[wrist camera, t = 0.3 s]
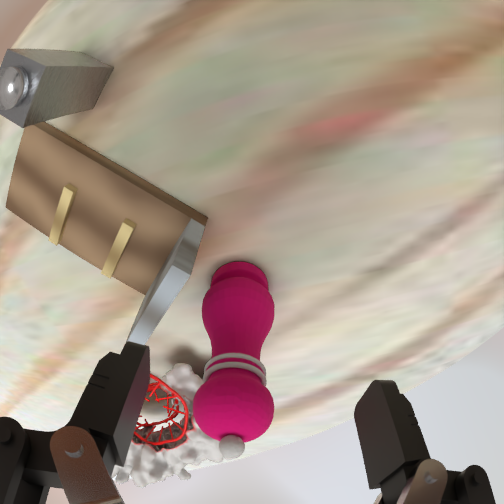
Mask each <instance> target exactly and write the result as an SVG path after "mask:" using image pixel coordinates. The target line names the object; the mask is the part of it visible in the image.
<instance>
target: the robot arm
mask: <svg viewBox="0 0 504 504" xmlns="http://www.w3.org/2000/svg"><path fill="white" fill-rule="evenodd" d="M149 380H150V350H149V346H146V345H142V344H138V343H134V342H130V341H127V342H126V344H125V346H124V348H123V350H122V352H121V354H116V353H113V352H109V353H108V354H107V355H106V356H104V357H103V358H102V359H101V360H99V362H98V364H97V366H96V368H95V370H94V372H93V375H92V376H91V378H90V380H89V382H88V385H87V386H86V388H85V390H84V392H83V394H82V396H81V398H80V400H79V402H78V405H77V407H76V409H75V411H74V413H73V415H72V417H71V419H70V421H69V422H68V424H67V425H65V426H64V427H62V428H60V429H58V430H57V431H52V432H44V431H36V430H29V429H23V428H22V426H21V425H20V424H19V423H18V422H17V421H16V420H14V419H12V418H10V417H0V504H45V503H46V500H47V495H48V492H49V489H50V487H54V488H62V489H64V491H65V494H66V496H67V499H68V501H69V504H125V503H124V501H123V499H122V498H121V496H120V494H119V492H118V490H117V488H116V486H115V484H114V482H113V480H112V477H111V476H112V473H113V469H114V466H115V465H118V466H121V467H124V464H125V461H126V457H127V454H128V450H129V447H130V444H131V440H132V437H133V434H134V430H135V427H136V424H137V421H138V418H139V415H140V411H141V408H142V405H143V402H144V399H145V396H146V393H147V390H148V386H149ZM354 418H355V423H356V427H357V431H358V436H359V440H360V445H361V449H362V454H363V458H364V464H365V469H366V473H367V478H368V483H369V488H370V489H376V488H381V492H382V493H380V494H379V495H378V497H377V499H376V500H375V502H374V504H496V503H495V500H494V496H493V492H492V489H491V486H490V482H489V479H488V476H487V473H486V472H485V470H484V469H483V468H481V467H480V466H478V465H471V466H469V467H468V468H466V469H465V470H464V471H463V472H458V471H449V470H446V468H445V467H444V465H443V464H442V463H441V462H439V461H437V460H435V459H431V458H430V455H429V452H428V450H427V446H426V444H425V441H424V438H423V435H422V432H421V430H420V427H419V426H418V422H417V419H416V417H415V414H414V411H413V408H412V406H411V403H410V402H409V401H408V400H407V398H406V397H405V396H404V395H403V394H400V393H399V390H398V387H397V385H396V383H395V382H394V381H393V380H374V381H373V382H372V383H371V384H370V386H369V387H368V389H367V390H366V392H365V393H364V395H363V396H362V397H361V399H360V400H359V402H358V403H357V405H356V407H355V411H354Z"/></svg>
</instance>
